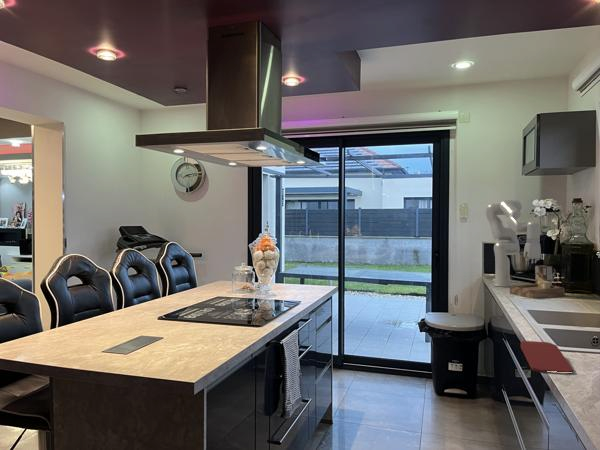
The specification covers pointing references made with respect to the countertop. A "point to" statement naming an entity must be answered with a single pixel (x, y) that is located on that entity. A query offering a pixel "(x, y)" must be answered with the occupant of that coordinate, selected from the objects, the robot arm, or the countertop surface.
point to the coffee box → (543, 273)
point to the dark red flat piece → (544, 357)
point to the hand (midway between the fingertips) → (532, 269)
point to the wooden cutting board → (536, 291)
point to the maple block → (544, 284)
